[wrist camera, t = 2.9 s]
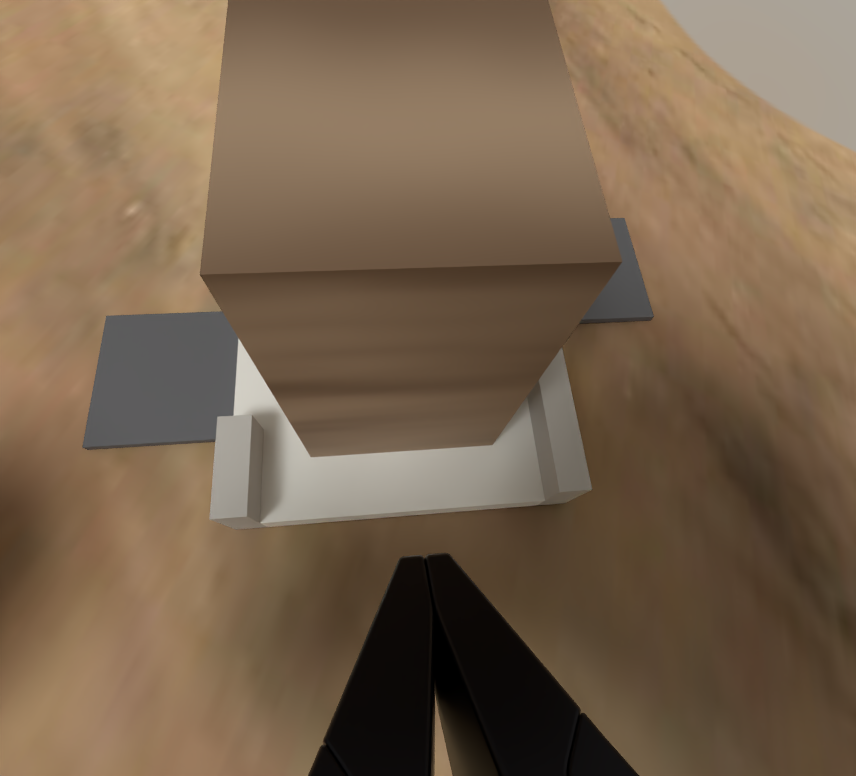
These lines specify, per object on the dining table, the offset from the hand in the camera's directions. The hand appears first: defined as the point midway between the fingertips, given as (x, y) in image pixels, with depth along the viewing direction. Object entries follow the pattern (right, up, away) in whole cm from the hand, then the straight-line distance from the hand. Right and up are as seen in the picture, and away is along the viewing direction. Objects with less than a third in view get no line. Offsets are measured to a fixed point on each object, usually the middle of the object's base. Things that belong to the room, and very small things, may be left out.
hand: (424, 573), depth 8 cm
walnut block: (-1, +5, +9) cm, 11 cm away
